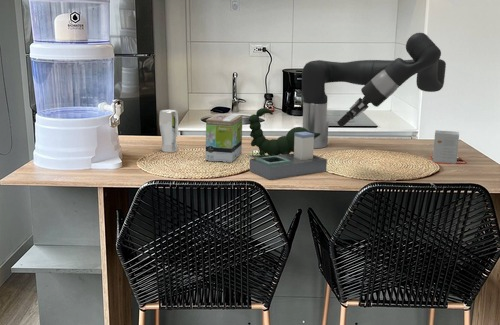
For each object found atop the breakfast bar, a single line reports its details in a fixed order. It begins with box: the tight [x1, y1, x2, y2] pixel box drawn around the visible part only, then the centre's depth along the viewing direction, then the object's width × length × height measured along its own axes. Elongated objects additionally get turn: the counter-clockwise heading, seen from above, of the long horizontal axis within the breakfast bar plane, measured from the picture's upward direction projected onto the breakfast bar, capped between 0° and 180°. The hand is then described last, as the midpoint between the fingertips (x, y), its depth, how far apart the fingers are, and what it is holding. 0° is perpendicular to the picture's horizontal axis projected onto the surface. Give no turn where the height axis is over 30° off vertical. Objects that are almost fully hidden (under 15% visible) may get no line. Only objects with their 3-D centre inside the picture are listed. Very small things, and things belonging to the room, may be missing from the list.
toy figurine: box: [248, 107, 320, 156], centre depth 196 cm, size 9×19×25 cm
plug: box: [293, 132, 314, 160], centre depth 180 cm, size 5×5×12 cm
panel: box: [249, 152, 328, 181], centre depth 178 cm, size 22×12×5 cm, turn 121°
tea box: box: [204, 113, 243, 163], centre depth 195 cm, size 15×10×15 cm, turn 168°
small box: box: [432, 130, 460, 165], centre depth 194 cm, size 8×6×10 cm
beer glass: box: [158, 109, 179, 153], centre depth 204 cm, size 7×7×15 cm
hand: (341, 122), depth 174 cm, fingers open, 8 cm apart
